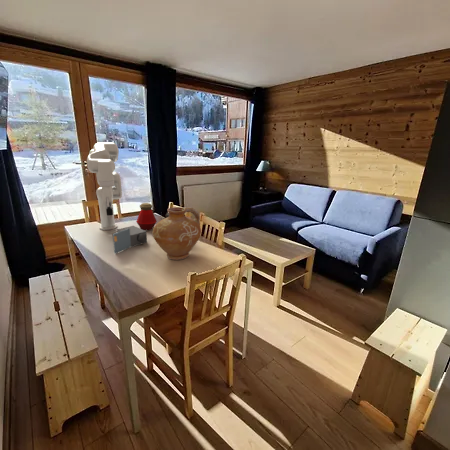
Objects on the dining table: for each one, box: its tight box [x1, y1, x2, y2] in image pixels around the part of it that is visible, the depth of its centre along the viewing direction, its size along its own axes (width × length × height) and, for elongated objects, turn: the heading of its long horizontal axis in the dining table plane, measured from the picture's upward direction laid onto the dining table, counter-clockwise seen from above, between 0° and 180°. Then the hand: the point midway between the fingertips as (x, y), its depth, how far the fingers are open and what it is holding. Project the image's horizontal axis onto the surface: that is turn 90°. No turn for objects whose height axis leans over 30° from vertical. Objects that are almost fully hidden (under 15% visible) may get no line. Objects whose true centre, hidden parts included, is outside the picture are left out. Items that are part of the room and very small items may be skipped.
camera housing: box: [116, 225, 148, 248], centre depth 169 cm, size 18×12×8 cm, turn 50°
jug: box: [152, 206, 202, 261], centre depth 148 cm, size 28×28×30 cm
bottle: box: [135, 202, 158, 231], centre depth 193 cm, size 16×14×20 cm
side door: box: [112, 228, 132, 255], centre depth 153 cm, size 12×2×12 cm, turn 155°
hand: (110, 214), depth 145 cm, fingers closed
